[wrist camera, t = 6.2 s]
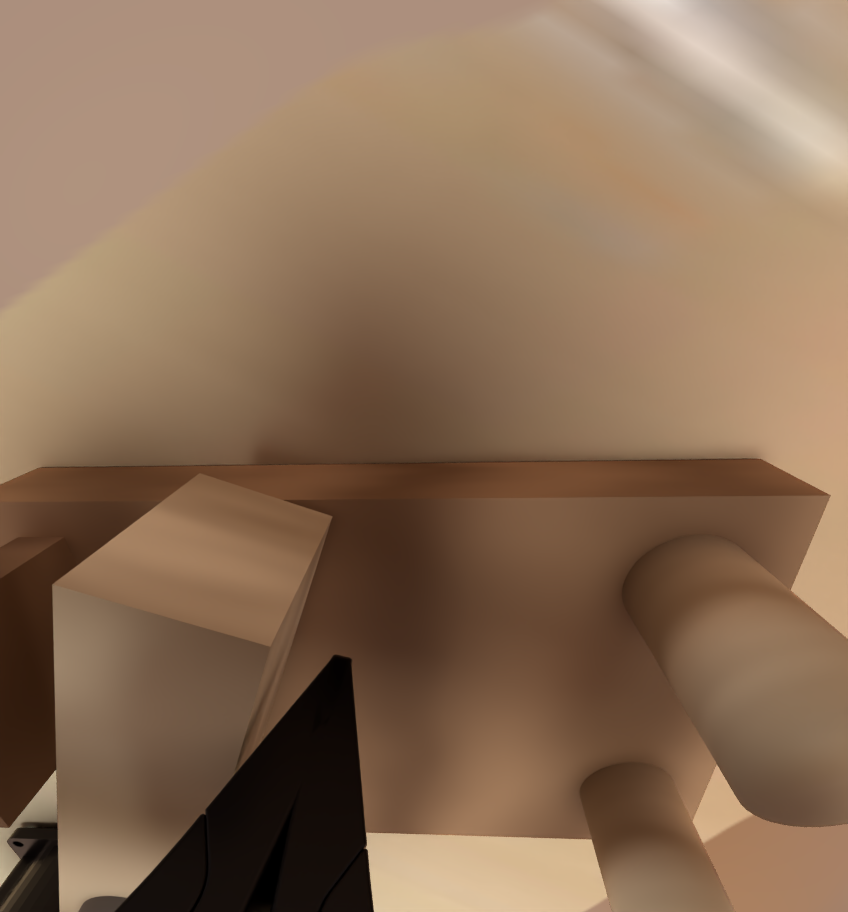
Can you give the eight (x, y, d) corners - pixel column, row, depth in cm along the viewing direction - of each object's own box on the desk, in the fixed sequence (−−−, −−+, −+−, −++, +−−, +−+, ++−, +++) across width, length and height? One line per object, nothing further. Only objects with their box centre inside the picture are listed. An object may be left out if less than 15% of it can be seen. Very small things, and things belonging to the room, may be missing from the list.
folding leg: (247, 782, 13) (168, 985, 9) (156, 760, 13) (35, 960, 9) (332, 516, 9) (251, 685, 5) (199, 473, 8) (7, 618, 5)
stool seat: (173, 766, 17) (41, 1003, 11) (39, 467, 11) (-352, 639, 6) (654, 777, 16) (771, 1041, 10) (760, 459, 10) (1133, 651, 5)
